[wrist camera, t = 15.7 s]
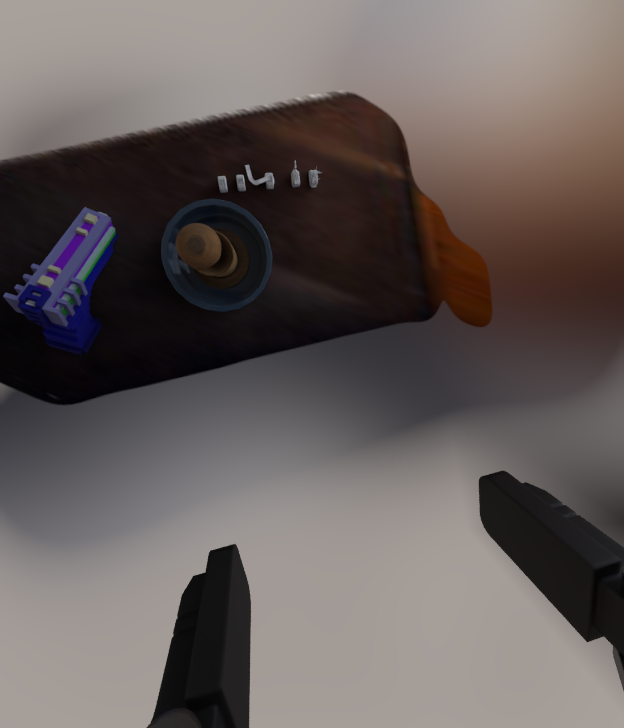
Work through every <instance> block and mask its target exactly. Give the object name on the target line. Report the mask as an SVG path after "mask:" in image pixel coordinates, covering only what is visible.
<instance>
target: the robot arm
mask: <svg viewBox="0 0 624 728" xmlns="http://www.w3.org/2000/svg"><path fill="white" fill-rule="evenodd" d="M479 498H480V499H479V501H480V517H481V521H482V523H483V525H484V528H485V529H486V531H487V533H488V534H489V535H490V536H491V538H492V539H493V540H494V541H495V542H496V543H497V544H498V545H499V546H500V547H501V548H502V550H503V551H504V552H505V553H506V554H507V555H508V556H509V557H510V558H511V559H512V560H513V562H514V563H515V564H516V565H517V566H518V567H519V568H520V569H521V570H522V571H523V572H524V574H525V575H526V576H527V577H528V578H529V579H530V580H531V581H532V582H533V583H534V584H535V586H536V587H537V588H538V589H539V590H540V591H541V592H542V593H543V594H544V595H545V597H546V598H547V599H548V600H549V601H550V602H551V603H552V604H553V605H554V606H555V607H556V608H557V610H558V611H559V612H560V613H561V614H562V615H563V616H564V617H565V618H566V619H567V621H569V623H570V624H571V625H572V626H573V627H574V628H575V629H576V630H577V632H578V633H579V634H580V635H581V636H582V637H583V638H584V639H585V640H586V641H587V642H589V641H592V640H595V639H598V638H600V637H603V636H604V637H605V638H606V639H607V640H608V641H609V642H610V643H611V644H612V645H613V655H614V660H615V663H616V667H617V670H618V673H619V677H620V680H621V683H622V687H623V690H624V548H623V547H622V546H621V545H619V544H618V543H617V542H615V541H614V540H613V539H611V538H610V537H608V536H607V535H606V534H604V533H603V532H602V531H600V530H599V529H597V528H596V527H595V526H593V525H592V524H591V523H589V522H588V521H586V520H585V519H584V518H582V517H581V516H579V515H578V516H577V515H576V513H575V512H574V511H573V510H571V509H570V508H569V507H567V506H566V505H563V504H562V502H560V501H559V500H558V499H556V498H555V497H554V496H552V495H551V494H549V493H548V492H547V491H545V490H542V489H540V488H538V487H536V486H533V485H531V484H529V483H521V482H519V481H518V480H517V479H515V478H514V477H513V476H512V475H510V474H509V473H507V472H505V471H500V472H496V473H493V474H489V475H485V476H482V477H480V479H479ZM177 616H178V618H177V620H176V623H175V627H174V632H173V634H174V636H173V637H172V640H171V644H170V649H169V653H168V657H167V662H166V666H165V670H164V674H163V679H162V683H161V688H160V692H159V696H158V700H157V705H156V709H155V712H154V716H153V718H152V721H151V724H150V725H149V726H148V727H147V728H249V692H250V626H251V600H250V591H249V585H248V581H247V577H246V574H245V571H244V568H243V564H242V561H241V558H240V554H239V551H238V548H237V546H236V544H233V545H229V546H226V547H222V548H219V549H215V550H211V551H210V552H209V556H208V562H207V568H206V573H202V574H199V575H195V576H193V578H192V579H191V581H190V582H189V584H188V586H187V588H186V589H185V591H184V593H183V594H182V597H181V602H180V606H179V610H178V615H177Z"/></svg>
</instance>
